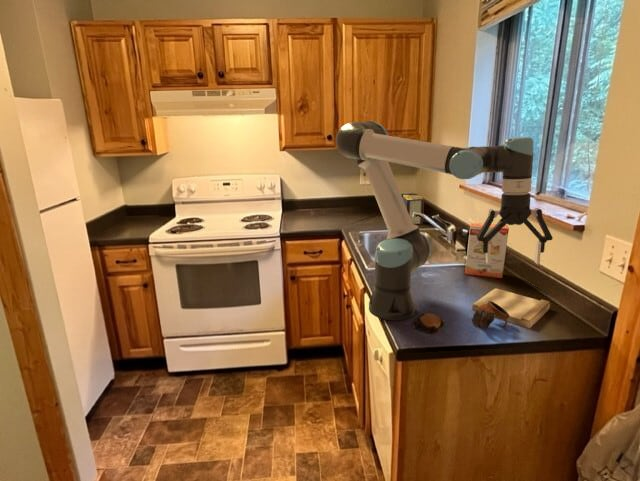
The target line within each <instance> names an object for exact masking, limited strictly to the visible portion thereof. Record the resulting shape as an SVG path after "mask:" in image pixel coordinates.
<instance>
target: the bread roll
mask: <svg viewBox="0 0 640 481" xmlns="http://www.w3.org/2000/svg"><path fill="white" fill-rule="evenodd" d="M444 324H445V320H444V318H440V317H439V316H438V315H436V314H434V313H430V312H429V313H428V312H427V313H421V314H420V316H419V317H417V318H415V319H414V320H413V326H412V329H413V330H415V331H418V332H421V333H422V332H423V333H424V334H427V335H433V336H436V334H438V333H439V331H440V330H441V329H442V328H443V326H444Z"/></svg>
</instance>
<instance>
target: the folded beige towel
mask: <svg viewBox="0 0 640 481" xmlns="http://www.w3.org/2000/svg"><path fill="white" fill-rule="evenodd" d="M488 301H492V302H494V303H496V304H497V305H499V306H500V307H501V308H503V309H504V310H505V311H506V312H507V313H508V314H509V317H508V318H507V320H508V323H511V324H514V325H516V326H517V325H518V326H519V327H520V326H521V327H523V328H527V329H531V328H532V327H533V326H534V325H535V324H536V323H537V322H538V321H539V320H540V319H541V318H542V317H543V316H544V315H545V314H546V313H547V312H549V310H550V307H551V303H550V300H549V301H548V300H546V299H542V298H541V300H539V299H537V298H532V297H528V296H525V295H522V294H517V293H514V292H510V291H507V290H504V289H499V288H495V287H494V289H492V290H491V291H489V292H488V293H486V294H485V295H484V296H482V297H481V298H480V299H477V301H475V302H473V304H472V308H471V310H472V311H476V310H477V309H478V308H479V307H480V306H481V305H483V304H487V303H488ZM483 314H484V312H483ZM494 316H495V318H497V319H499V318H498V317H496V315H494Z"/></svg>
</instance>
